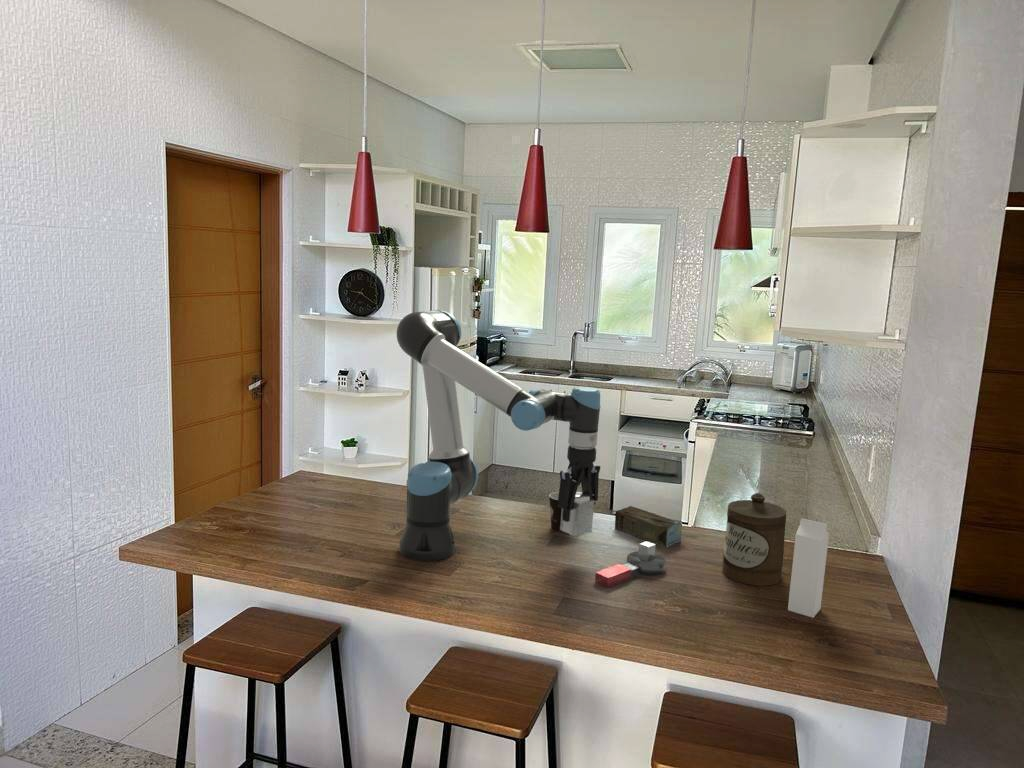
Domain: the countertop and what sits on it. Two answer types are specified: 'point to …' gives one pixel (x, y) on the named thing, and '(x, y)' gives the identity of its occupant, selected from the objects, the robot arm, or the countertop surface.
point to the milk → (808, 568)
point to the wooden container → (754, 541)
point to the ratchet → (633, 566)
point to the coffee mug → (555, 511)
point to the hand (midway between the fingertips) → (575, 529)
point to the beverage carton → (648, 526)
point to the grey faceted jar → (581, 514)
